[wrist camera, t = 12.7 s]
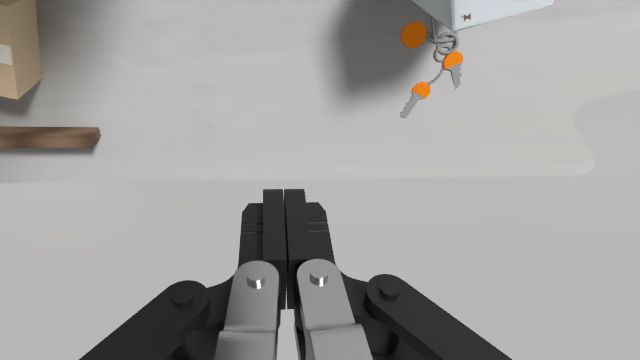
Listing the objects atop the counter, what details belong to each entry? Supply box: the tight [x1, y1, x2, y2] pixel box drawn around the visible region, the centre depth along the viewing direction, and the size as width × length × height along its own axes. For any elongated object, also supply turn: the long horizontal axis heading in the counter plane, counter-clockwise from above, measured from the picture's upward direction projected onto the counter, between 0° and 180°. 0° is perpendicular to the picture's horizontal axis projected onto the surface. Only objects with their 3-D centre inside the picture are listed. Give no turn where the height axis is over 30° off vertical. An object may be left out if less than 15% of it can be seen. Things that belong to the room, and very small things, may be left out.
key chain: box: [400, 17, 463, 118], centre depth 43 cm, size 13×7×1 cm, turn 5°
